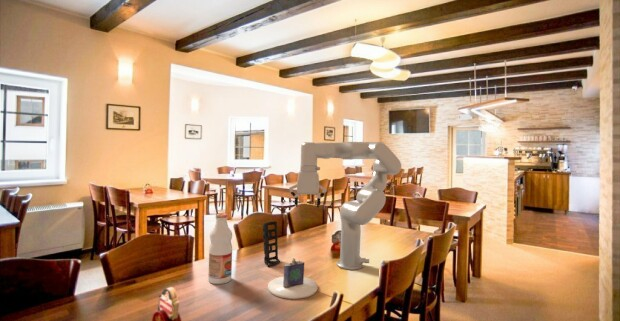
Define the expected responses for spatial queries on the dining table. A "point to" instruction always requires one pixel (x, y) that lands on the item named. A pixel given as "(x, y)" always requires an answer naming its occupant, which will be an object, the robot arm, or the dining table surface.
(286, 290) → the plate
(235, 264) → the dining table surface
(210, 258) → the fruit juice
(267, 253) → the holder
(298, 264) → the flask
